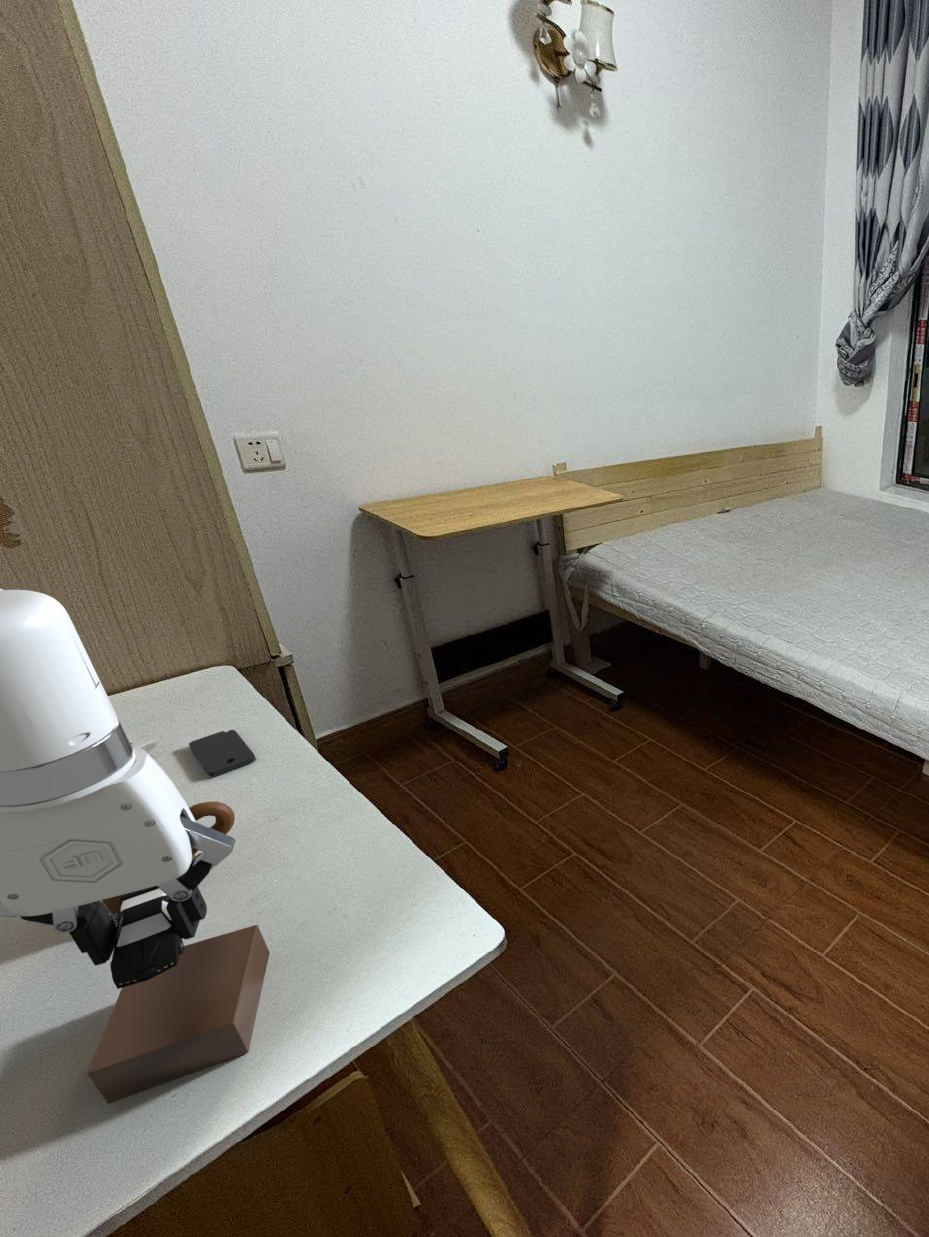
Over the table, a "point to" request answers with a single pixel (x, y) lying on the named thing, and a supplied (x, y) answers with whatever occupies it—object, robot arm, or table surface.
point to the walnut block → (183, 1016)
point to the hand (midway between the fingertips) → (151, 936)
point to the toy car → (144, 938)
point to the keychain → (222, 752)
